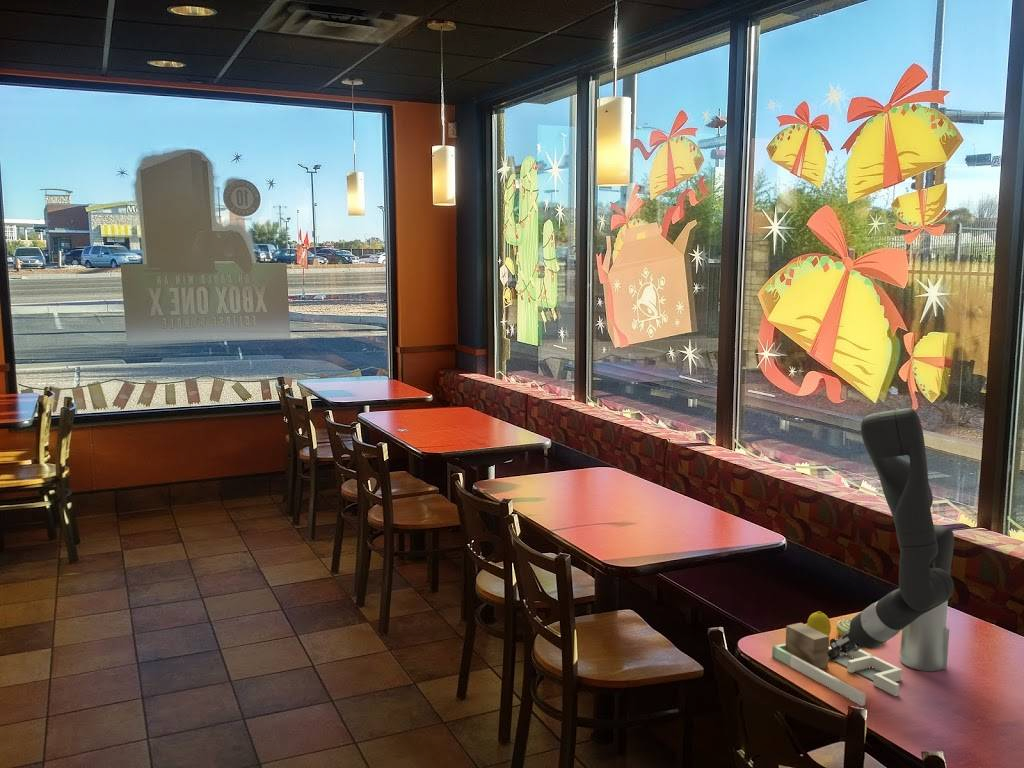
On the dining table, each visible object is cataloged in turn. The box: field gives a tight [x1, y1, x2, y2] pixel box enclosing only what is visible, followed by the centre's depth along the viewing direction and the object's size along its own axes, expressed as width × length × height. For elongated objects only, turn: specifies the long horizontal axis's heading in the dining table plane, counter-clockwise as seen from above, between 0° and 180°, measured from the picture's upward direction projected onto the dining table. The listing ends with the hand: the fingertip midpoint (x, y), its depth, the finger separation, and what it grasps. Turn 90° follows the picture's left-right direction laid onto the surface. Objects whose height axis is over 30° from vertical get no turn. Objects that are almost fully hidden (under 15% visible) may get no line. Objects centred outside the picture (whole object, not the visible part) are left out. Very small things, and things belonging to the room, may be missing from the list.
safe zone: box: [771, 642, 793, 667], centre depth 212 cm, size 6×11×2 cm, turn 116°
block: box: [785, 622, 830, 670], centre depth 210 cm, size 9×4×8 cm, turn 26°
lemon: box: [806, 610, 832, 637], centre depth 220 cm, size 6×6×8 cm
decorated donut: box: [835, 617, 854, 637], centre depth 224 cm, size 10×11×4 cm
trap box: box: [789, 646, 903, 707], centre depth 202 cm, size 21×18×2 cm
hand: (831, 656), depth 203 cm, fingers closed
